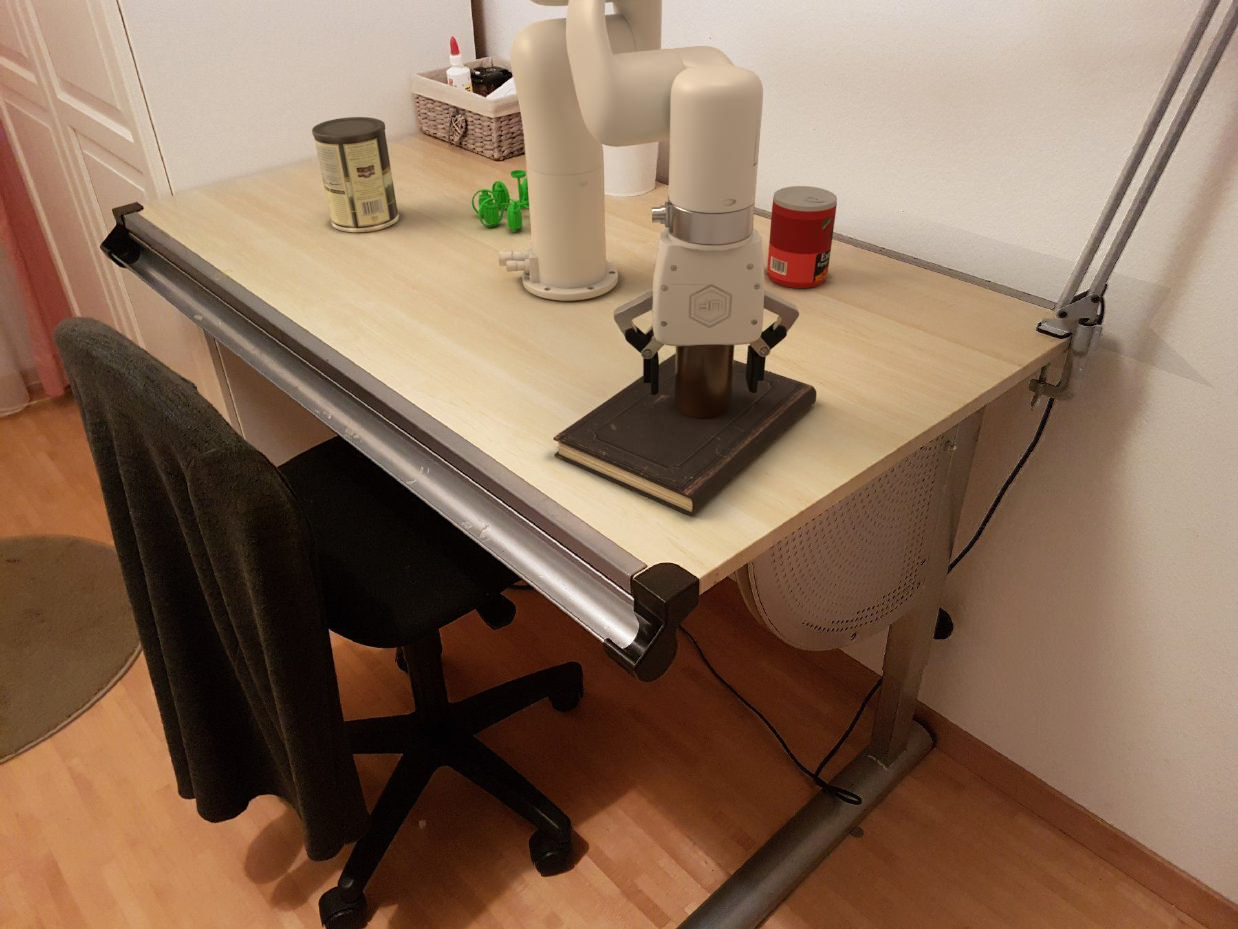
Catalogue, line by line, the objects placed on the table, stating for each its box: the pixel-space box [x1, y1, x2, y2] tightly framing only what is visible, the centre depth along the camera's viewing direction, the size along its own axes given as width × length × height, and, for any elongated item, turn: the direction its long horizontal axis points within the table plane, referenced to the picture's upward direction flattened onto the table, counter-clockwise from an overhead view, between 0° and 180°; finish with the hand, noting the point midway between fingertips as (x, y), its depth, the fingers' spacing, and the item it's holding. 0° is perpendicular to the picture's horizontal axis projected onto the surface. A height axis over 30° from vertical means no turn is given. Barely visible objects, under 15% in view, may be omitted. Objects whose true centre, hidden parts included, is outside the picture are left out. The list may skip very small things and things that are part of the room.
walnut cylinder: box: [674, 345, 736, 419], centre depth 89 cm, size 6×6×8 cm
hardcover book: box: [552, 352, 817, 516], centre depth 91 cm, size 16×23×2 cm
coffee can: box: [311, 116, 400, 233], centre depth 137 cm, size 10×10×14 cm
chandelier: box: [471, 169, 529, 233], centre depth 139 cm, size 15×15×7 cm
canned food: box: [766, 185, 838, 289], centre depth 119 cm, size 8×8×11 cm
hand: (702, 386), depth 91 cm, fingers open, 9 cm apart
